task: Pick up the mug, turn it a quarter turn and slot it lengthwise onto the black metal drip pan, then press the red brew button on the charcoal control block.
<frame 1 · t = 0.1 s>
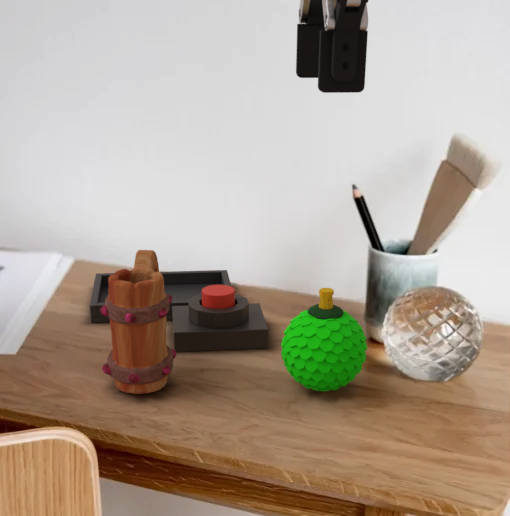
hand: (327, 84, 63), 29 cm above the table, tool pointing down, fingers open, 9 cm apart
ornament: (322, 389, 82), on the table
brew button: (218, 297, 91), point 4 cm above the table, slide at 0.1 cm
drip pan: (163, 302, 103), on the table
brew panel: (218, 335, 93), on the table
mug: (145, 379, 83), on the table
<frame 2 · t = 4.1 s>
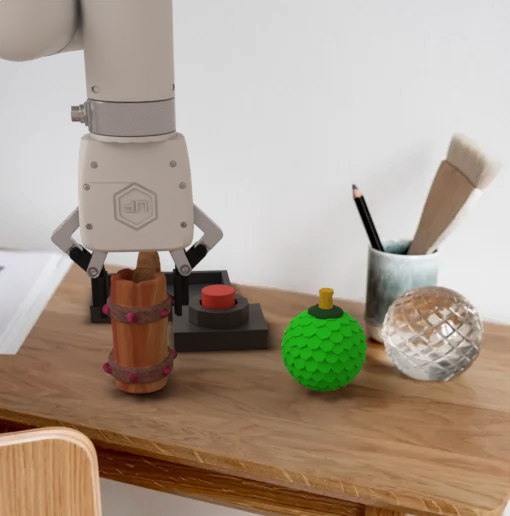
hand: (141, 310, 80), 7 cm above the table, tool pointing down, fingers closed on mug, 6 cm apart
mug: (145, 378, 83), on the table, touching gripper
everything else where it was.
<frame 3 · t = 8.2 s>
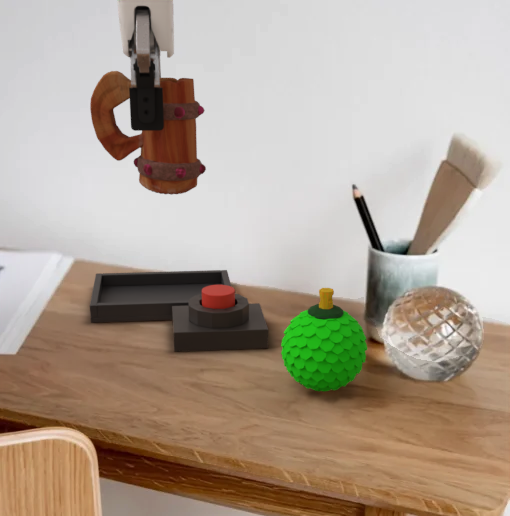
hand: (148, 122, 86), 23 cm above the table, tool pointing down, fingers closed on mug, 6 cm apart
mug: (151, 192, 89), point 15 cm above the table, touching gripper
everything else where it was.
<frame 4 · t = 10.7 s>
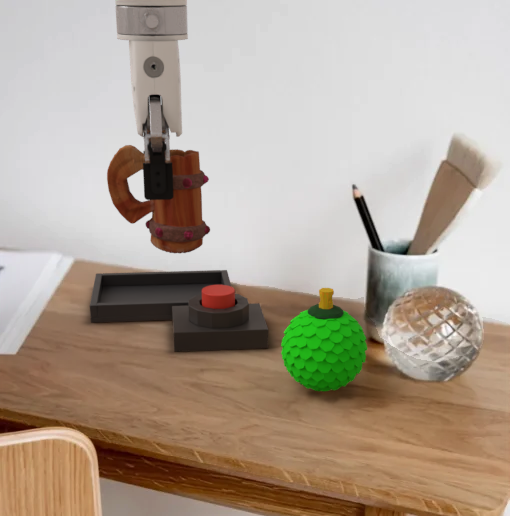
hand: (158, 190, 97), 14 cm above the table, tool pointing down, fingers closed on mug, 6 cm apart
mug: (161, 250, 100), point 7 cm above the table, touching gripper
everything else where it was.
when the fingers open (8 cm above the table, at t = 12.8 s): mug stays where it is, resting on drip pan.
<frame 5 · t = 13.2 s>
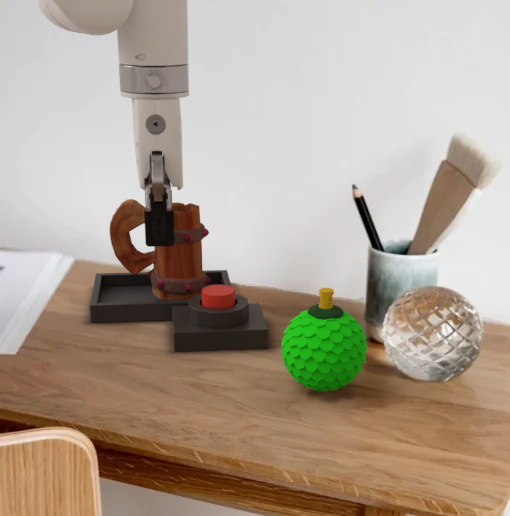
hand: (159, 233, 99), 9 cm above the table, tool pointing down, fingers open, 9 cm apart
mug: (162, 299, 102), resting on drip pan
everything else where it was.
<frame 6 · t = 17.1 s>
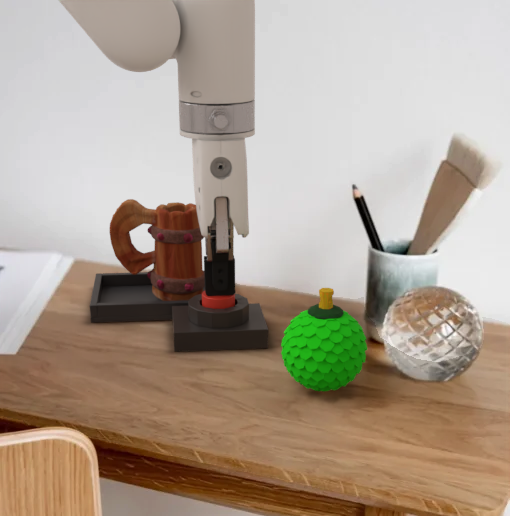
hand: (219, 292, 91), 5 cm above the table, tool pointing down, fingers closed
brew button: (218, 300, 92), point 4 cm above the table, slide at -0.3 cm, touching gripper
everything else where it was.
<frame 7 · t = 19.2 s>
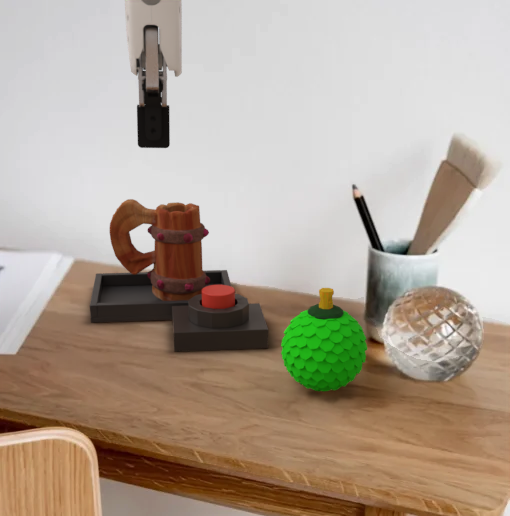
hand: (153, 146, 86), 20 cm above the table, tool pointing down, fingers closed
brew button: (218, 297, 91), point 5 cm above the table, slide at 0.1 cm
everything else where it was.
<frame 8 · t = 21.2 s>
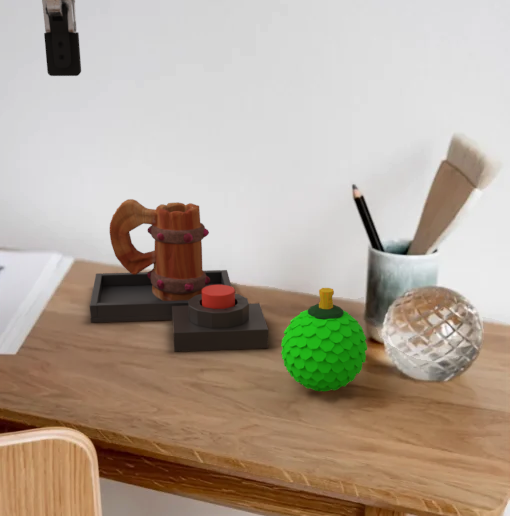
hand: (64, 74, 85), 27 cm above the table, tool pointing down, fingers closed
nothing on the table moved.
at the end: mug 0.0 cm off-centre in the drip pan, point 0.4 cm above the drip pan's base; mug tilted 0°; brew button pushed in 1.1 cm at the most during the clip, back to where it started at the end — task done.
